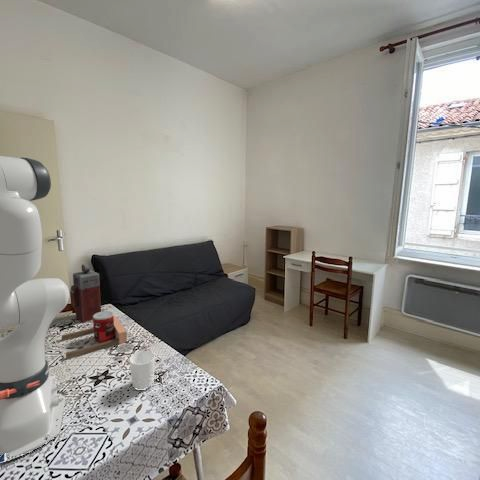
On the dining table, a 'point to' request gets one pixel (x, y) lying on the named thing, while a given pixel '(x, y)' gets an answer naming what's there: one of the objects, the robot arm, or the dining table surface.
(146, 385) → the white cup
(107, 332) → the canned food
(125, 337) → the end stop
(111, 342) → the guide rails
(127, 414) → the dining table surface
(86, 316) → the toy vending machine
